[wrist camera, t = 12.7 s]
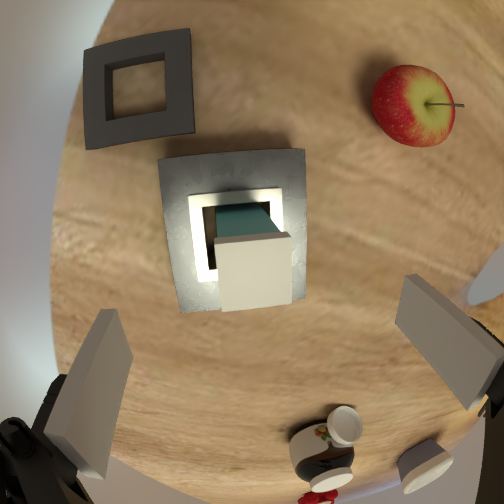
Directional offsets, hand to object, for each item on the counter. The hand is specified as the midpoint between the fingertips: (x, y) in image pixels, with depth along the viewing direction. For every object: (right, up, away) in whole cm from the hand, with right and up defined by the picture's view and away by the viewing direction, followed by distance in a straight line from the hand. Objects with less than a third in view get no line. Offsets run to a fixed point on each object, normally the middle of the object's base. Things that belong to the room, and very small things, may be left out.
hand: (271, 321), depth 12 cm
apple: (+14, +18, +14) cm, 27 cm away
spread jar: (+11, -27, +31) cm, 42 cm away
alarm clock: (+17, -65, +46) cm, 81 cm away
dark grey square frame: (-11, +18, +10) cm, 24 cm away
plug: (-2, +6, +16) cm, 17 cm away
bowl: (+46, -54, +46) cm, 85 cm away
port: (-2, +6, +16) cm, 17 cm away
